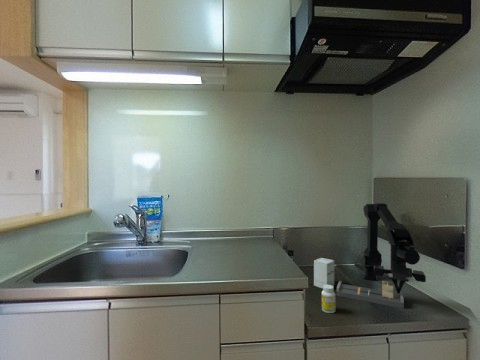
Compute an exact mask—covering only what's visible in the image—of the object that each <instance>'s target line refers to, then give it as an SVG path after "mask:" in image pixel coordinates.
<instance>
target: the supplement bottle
mask: <svg viewBox="0 0 480 360" xmlns="http://www.w3.org/2000/svg"><path fill="white" fill-rule="evenodd" d="M334 287H335V286H332V285H323V288H322V291H321V310H322V312H324V313H326V314H327V313H328V314H333V313H335V312H336V292H335V291H334Z"/></svg>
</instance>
